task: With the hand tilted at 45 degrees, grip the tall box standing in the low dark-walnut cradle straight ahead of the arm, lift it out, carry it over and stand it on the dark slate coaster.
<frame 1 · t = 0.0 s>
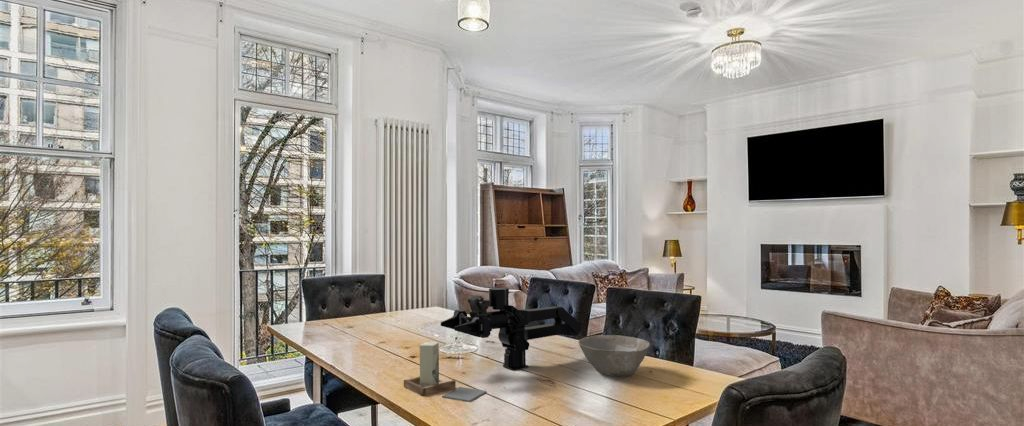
hand: (447, 326, 161), 17 cm above the table, tool horizontal, fingers open, 9 cm apart
coaster: (464, 394, 147), on the table
box: (429, 388, 154), resting in cradle
cradle: (429, 387, 154), on the table
ceramic bowl: (614, 374, 166), on the table
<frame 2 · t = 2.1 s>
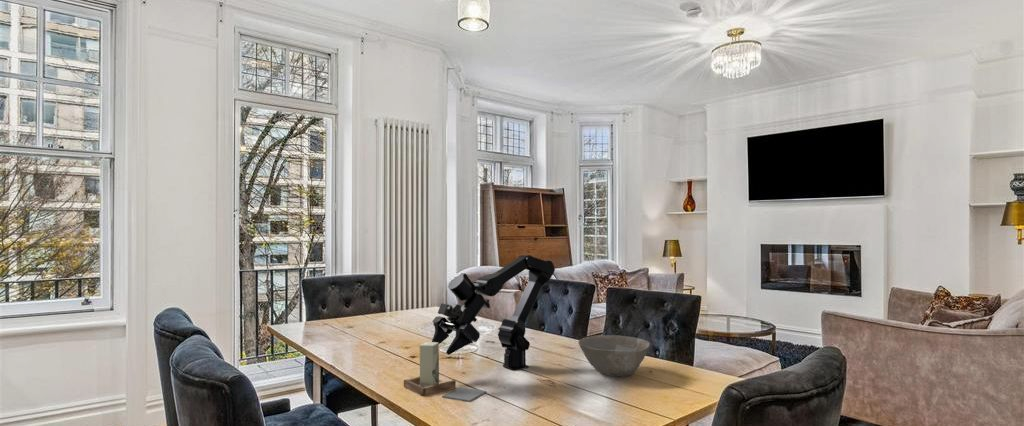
hand: (438, 351, 156), 10 cm above the table, tool tilted 45°, fingers open, 9 cm apart
nothing on the table moved.
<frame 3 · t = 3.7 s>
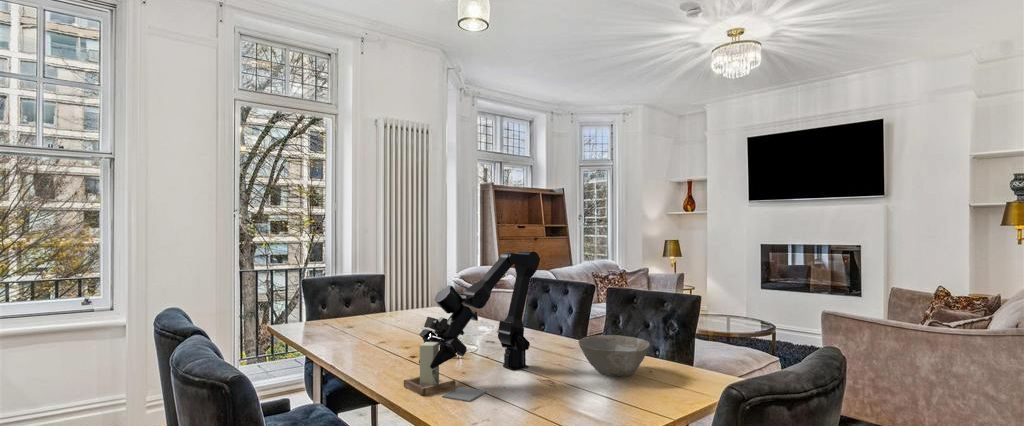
hand: (425, 365, 153), 7 cm above the table, tool tilted 45°, fingers closed on box, 6 cm apart
box: (429, 388, 154), resting in cradle, touching gripper
everything else where it was.
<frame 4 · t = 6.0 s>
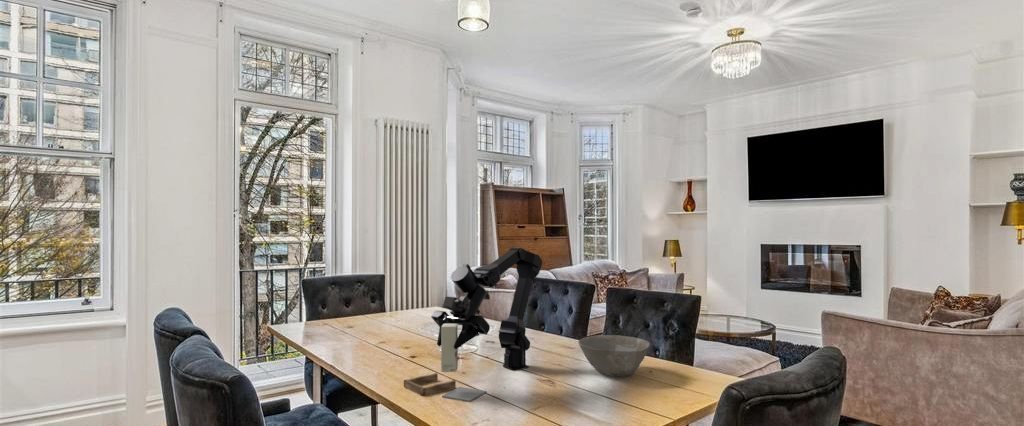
hand: (446, 346, 148), 13 cm above the table, tool tilted 45°, fingers closed on box, 6 cm apart
box: (449, 370, 149), point 6 cm above the table, touching gripper
everything else where it was.
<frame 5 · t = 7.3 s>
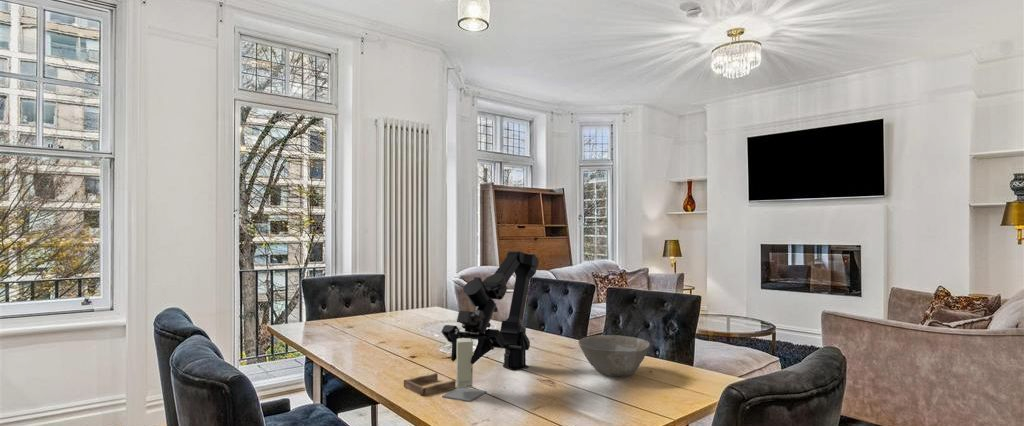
hand: (461, 362, 146), 9 cm above the table, tool tilted 45°, fingers closed on box, 6 cm apart
box: (464, 386, 147), point 2 cm above the table, touching gripper
everything else where it was.
when the fingers open (8 cm above the table, at t = 8.2 s): box stays where it is, resting on coaster.
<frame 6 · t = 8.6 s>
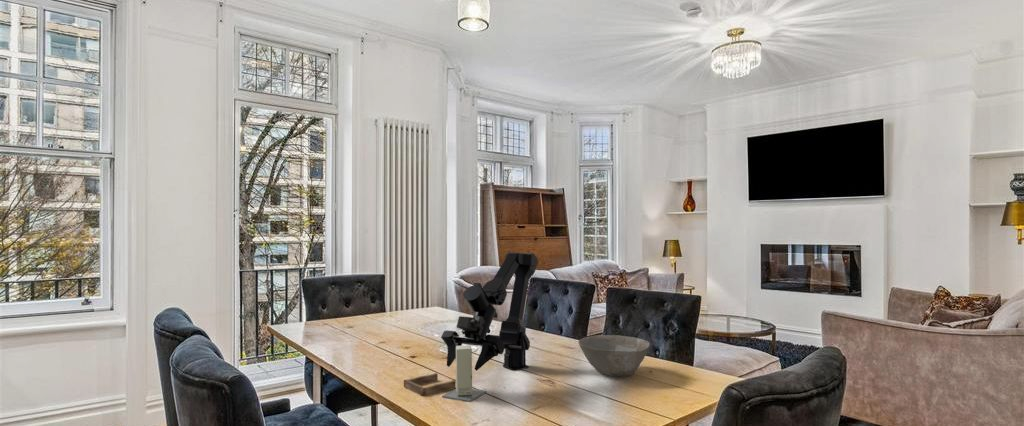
hand: (461, 367, 146), 8 cm above the table, tool tilted 45°, fingers open, 9 cm apart
box: (464, 393, 147), resting on coaster
everything else where it was.
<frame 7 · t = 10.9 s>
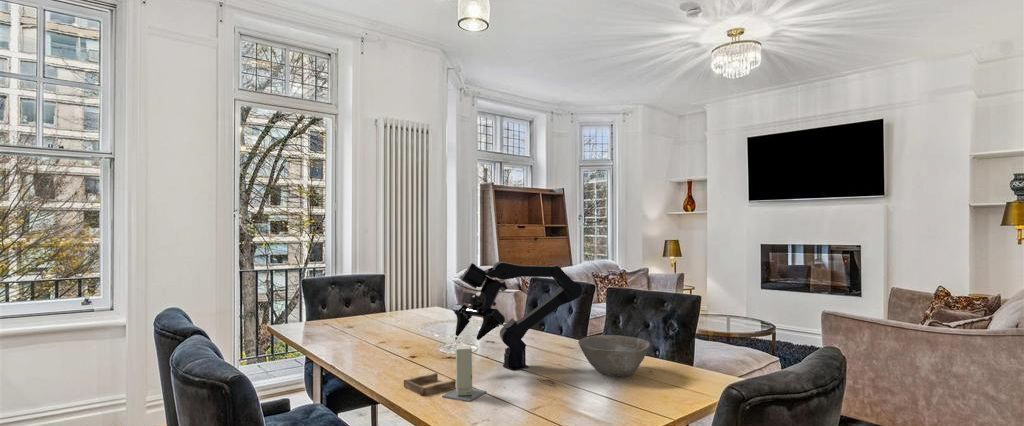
hand: (466, 337, 165), 12 cm above the table, tool tilted 40°, fingers open, 9 cm apart
nothing on the table moved.
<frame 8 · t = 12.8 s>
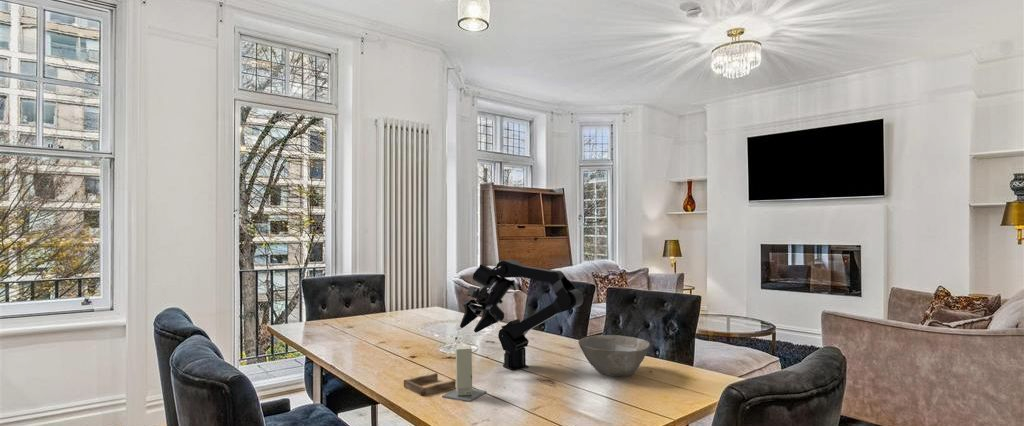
hand: (467, 329, 170), 14 cm above the table, tool tilted 45°, fingers open, 9 cm apart
nothing on the table moved.
at the end: box inside the target area on the coaster (0.3 cm from its centre), point 0.2 cm above the coaster's base; box tilted 0°; the gripper is holding nothing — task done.
